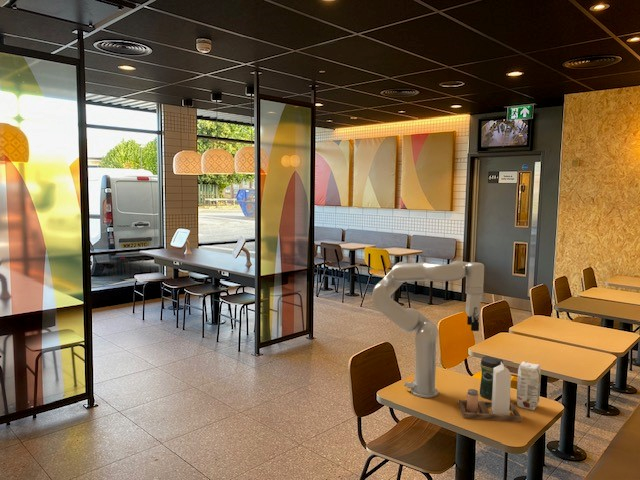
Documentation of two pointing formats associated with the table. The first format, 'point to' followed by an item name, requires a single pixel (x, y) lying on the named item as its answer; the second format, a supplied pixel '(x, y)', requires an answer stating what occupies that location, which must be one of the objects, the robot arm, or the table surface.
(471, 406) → the shaker
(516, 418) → the organizer
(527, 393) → the juice carton
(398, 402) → the table surface
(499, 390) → the milk
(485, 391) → the coffee jar
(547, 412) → the table surface
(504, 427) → the table surface
